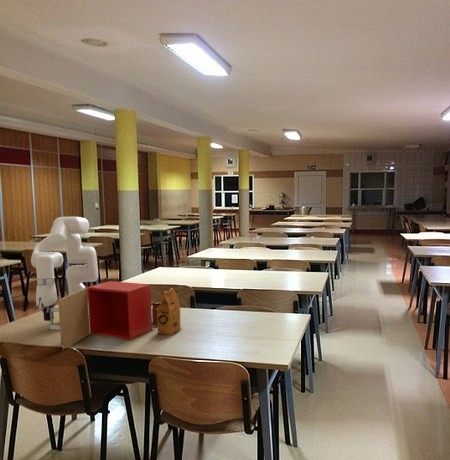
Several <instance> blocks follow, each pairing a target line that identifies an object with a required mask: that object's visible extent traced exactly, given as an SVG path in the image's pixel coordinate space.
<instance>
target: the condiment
mask: <svg viewBox="0 0 450 460" xmlns="http://www.w3.org/2000/svg"><path fill="white" fill-rule="evenodd" d="M161 302H162V301H153V302H152V306H151V309H152V328H153V327H158V319H157V311H158V307H159V305H160V303H161Z"/></svg>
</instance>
